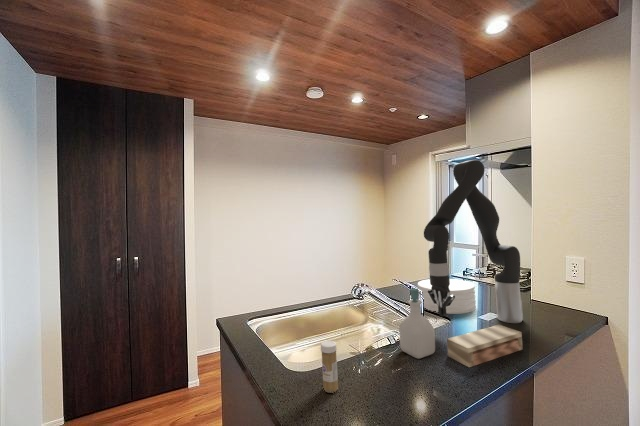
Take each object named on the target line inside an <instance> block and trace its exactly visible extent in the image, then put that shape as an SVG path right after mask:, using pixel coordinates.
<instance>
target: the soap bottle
mask: <svg viewBox="0 0 640 426" xmlns="http://www.w3.org/2000/svg"><path fill="white" fill-rule="evenodd" d="M409 293H410V299H409V300H408V301H407V303H408V304H409V306H410V307H409V309H410V312H409V315H408V314H407V316H406V317H405V318H404V319H403V320H402V321H401V322H400V324H399V327H398V328H399V345H400V349H401V350H402V351H403V352H404V353H406V354H407V355H410V356H412V357H413V358H416V359H419V360H420V359H423V358H425V357H428V356H431V355H434V353H435V352H436V335H435V328H434V326H433V324H432V323H431V322H430V321H429V320H428V319H427V317H425V316H424V315H423V314H422V313H421V307H420V304H421V303H422V302H421V301H420V300H419V296H418V293H419V294H420V295H422V294H421V293H420V292H419V291H418V288H409ZM422 296H423V295H422Z"/></svg>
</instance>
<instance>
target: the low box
mask: <svg viewBox="0 0 640 426" xmlns="http://www.w3.org/2000/svg"><path fill="white" fill-rule="evenodd" d="M522 334H523V333H522V331H519V330H516V329H514V328H510V327H507V326H504V325H502V324H496V325H492V326H490V327H486V328H485V327H484V328H481V329H477V330H475V331H471V332H467V333H464V334H460V335H456V336H451V337H448V338H446V345H447V346H446V347H447V357H449V358H451V359H453V360H454V361H456V362H458V363H459V364H461V365H464V366H466V367H468V368H471V367H475V366H477V365H480V364H484V363H486V362H489V361H492V360H495V359H498V358H501V357H505V356H507V355H510V354H513V353H516V352H519V351H522V350H523V349H524V348H523V335H522Z"/></svg>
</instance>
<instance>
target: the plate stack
mask: <svg viewBox="0 0 640 426" xmlns="http://www.w3.org/2000/svg"><path fill="white" fill-rule="evenodd" d="M449 279H450V285H449V290H450V293H451V295H454V296H455V298H454V300H453V301H452V303H451V304H450V306H447V307H446V315H447V314H448V315H452V314H453V315H454V314H455V315H459V314H460V315H461V314H466V313H467V314H468V313H471V312H474V311H476V309H477V305H476V304H477V302H476V301H477V300H476V289H475V288H476V286H475V284H474V283H472V282H471V281H469V280H468V281H467V280H462V279H455V278H449ZM431 287H432V285H431V284H430V278H428V279H422V280H420V281H418V282H417V289H420V290H422V292H423V297H424V307H425V308H426V309H428V310H427V311H429V310H432V311H431V312H433V311H436V312H435V313H438V306H437V304H434V302H433V300H432V299H431V297H430V295H429V293H428V290H431V289H432V288H431ZM426 309H425V310H426Z"/></svg>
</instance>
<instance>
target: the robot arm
mask: <svg viewBox="0 0 640 426" xmlns="http://www.w3.org/2000/svg"><path fill="white" fill-rule="evenodd" d="M485 170H486V169H485V165H484V164H483V162H482V161H481V160H478V159H470V160H466V161H462V162H458V163H456V164H455V165H454V167H453V170H452V171H453V172H452V173H453V178H454V180H455V182H456V184H457V186H456V187H455V188H454V189H453V191H452V192H450V194H449V195H448V196H447V197H446V198H445V199H444V200H443V201H442V203H441V204H440V207H439V209H437V212H436V214H435V215H434V216H433V217H432V218H431V219H430V221H428V223H427V224H426V225H425V228H424V230H423V237H424V239H425V240H426V241H427V242H430V243H433V247H432V248H430V249H429V250H428V264H429V265H428V273H429V279H430V284H431V285H432V287H431V288H432V289H431V290H428V293H429V295H430V297H431V299H432V300H433V302H434V304H437V306H438V312H439V313H438V312H437V313H438V315H439V316H441V317H445V316H447V314H446V307H447V306H450V304H451V303H452V301H453V300H454V298H455V296H454V295H451V293H450V290H449V285H450V279H451V278H450V270H449V264H448V255H447V252H448V248H449V243H450V233H449V232H450V231H449V230H448V228H447V227H446V226H447V225H450V224H452V223H454V221H455V218H456V217H457V214H458V212H459V211H460V209H461V207H462V206H463V203H464V202H465V201H466V202H467V205H468V206H469V208H470V210H471V214H472V216H473V218H474V219H473V220H474V221H475V222H476V225H477V227H478V230H479V232H480V234H481V237H482V240H483V243H484V246H485V249H486V252H487V255H488V258H489V261H490V262H491V263H492V264H494V265H496V266H502V267H503V271H502V272H498V273H495V275H494V286H495V299H496V300H495V301H496V302H495V303H496V317H497V320H499V321H501V322H503V323H508V324H509V323H510V324H520V323H522V321H524V315H523V302H522V301H523V300H522V297H521V290H520V289H521V288H520V287H521V286H520V276H521V254H520V251H519V249H518V248H517V247H516V246H514V245H503V244H501V243H500V242H499V238H498V235H497V231H498V228H499V225H500V216H499V213H498V211H497V209H496V206H495V205H494V203H493V201H491V200H490V199H489V198H488V197H487V196H486V195H485V194H483V192H481V190H480V189H479V188H478V187H477V185H478V183H479V182H480V181H481V180H482V178H483V177H484V175H485Z"/></svg>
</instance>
